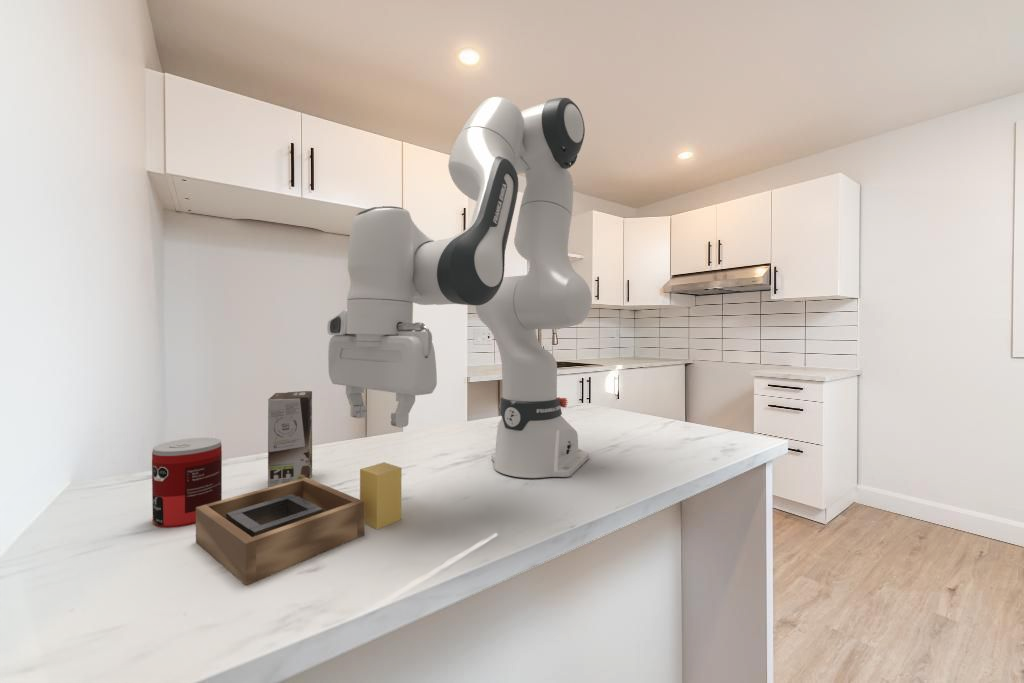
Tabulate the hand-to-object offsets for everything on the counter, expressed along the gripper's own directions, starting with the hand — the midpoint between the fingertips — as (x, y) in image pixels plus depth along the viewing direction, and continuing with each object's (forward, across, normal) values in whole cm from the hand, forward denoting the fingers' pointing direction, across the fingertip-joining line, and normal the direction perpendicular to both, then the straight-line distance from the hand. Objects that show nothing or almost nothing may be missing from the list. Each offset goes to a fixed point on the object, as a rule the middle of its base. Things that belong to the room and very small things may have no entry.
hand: (378, 421), depth 59 cm
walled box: (+15, +6, +10) cm, 19 cm away
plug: (+15, 0, -1) cm, 15 cm away
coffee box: (+15, +26, -1) cm, 30 cm away
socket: (+14, +5, +11) cm, 19 cm away
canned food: (+15, +23, +15) cm, 31 cm away
